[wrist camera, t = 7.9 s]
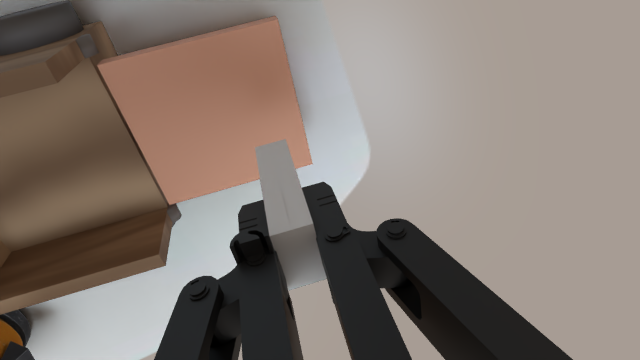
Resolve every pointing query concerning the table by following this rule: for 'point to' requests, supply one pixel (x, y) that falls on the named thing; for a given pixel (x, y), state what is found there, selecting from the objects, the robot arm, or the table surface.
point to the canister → (14, 336)
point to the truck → (69, 165)
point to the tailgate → (209, 106)
